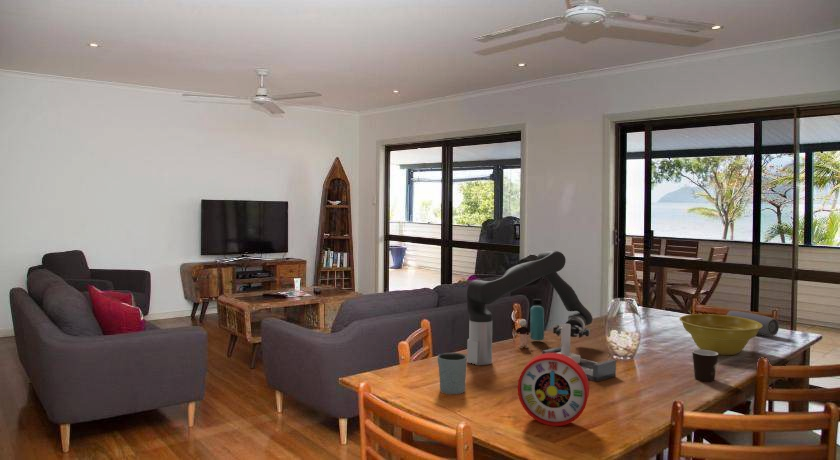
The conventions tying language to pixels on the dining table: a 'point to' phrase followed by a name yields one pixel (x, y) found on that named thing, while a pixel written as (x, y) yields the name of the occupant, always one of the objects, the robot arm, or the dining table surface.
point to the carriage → (567, 343)
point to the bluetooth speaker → (768, 323)
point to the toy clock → (553, 389)
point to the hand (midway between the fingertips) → (568, 334)
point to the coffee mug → (704, 365)
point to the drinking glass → (452, 372)
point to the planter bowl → (720, 332)
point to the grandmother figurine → (523, 334)
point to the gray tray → (593, 367)
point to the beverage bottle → (537, 321)
